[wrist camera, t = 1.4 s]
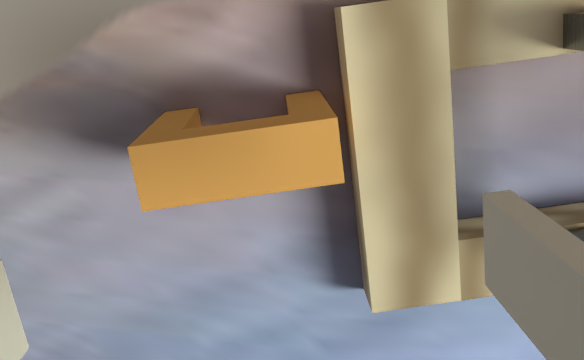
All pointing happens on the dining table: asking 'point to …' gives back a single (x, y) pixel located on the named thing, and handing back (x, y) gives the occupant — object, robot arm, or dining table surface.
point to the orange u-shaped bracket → (237, 155)
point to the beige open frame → (426, 135)
